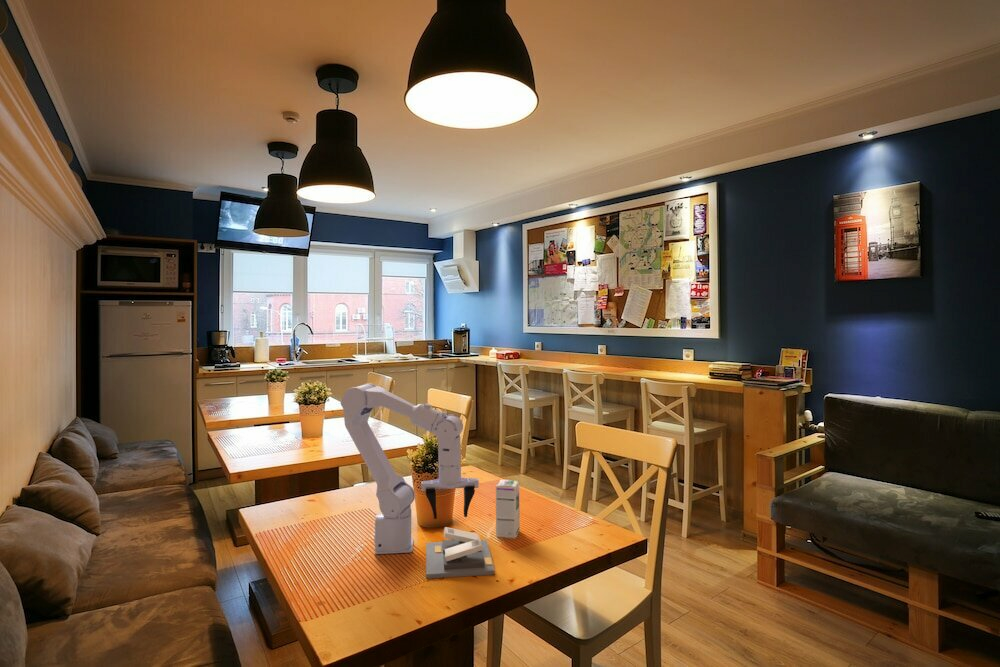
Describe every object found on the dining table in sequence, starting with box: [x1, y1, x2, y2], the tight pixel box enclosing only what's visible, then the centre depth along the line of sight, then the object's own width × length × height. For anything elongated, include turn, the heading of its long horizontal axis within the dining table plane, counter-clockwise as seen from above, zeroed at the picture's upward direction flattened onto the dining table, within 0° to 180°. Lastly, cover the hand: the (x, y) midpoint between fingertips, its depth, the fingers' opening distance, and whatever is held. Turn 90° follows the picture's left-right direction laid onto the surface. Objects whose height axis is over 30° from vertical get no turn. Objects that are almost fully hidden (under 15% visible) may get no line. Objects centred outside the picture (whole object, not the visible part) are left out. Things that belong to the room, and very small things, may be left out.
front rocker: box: [445, 537, 483, 561], centre depth 127 cm, size 9×4×1 cm, turn 97°
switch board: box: [425, 539, 496, 580], centre depth 131 cm, size 16×17×3 cm
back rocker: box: [443, 526, 480, 542], centre depth 135 cm, size 9×4×1 cm, turn 98°
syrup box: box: [495, 479, 521, 539], centre depth 147 cm, size 6×6×14 cm
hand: (450, 516), depth 134 cm, fingers open, 7 cm apart
